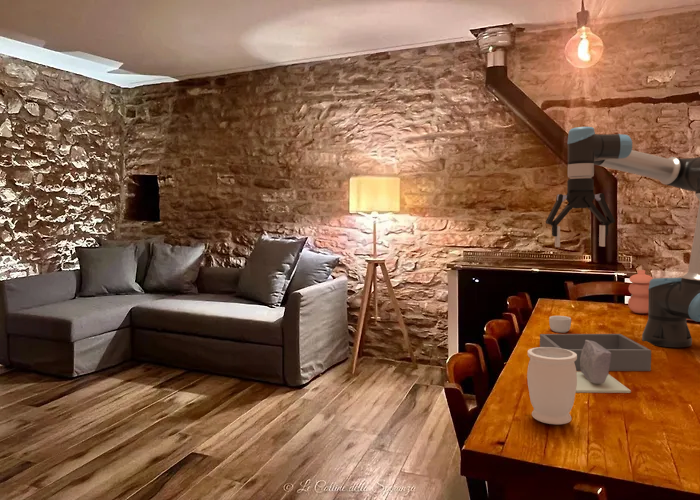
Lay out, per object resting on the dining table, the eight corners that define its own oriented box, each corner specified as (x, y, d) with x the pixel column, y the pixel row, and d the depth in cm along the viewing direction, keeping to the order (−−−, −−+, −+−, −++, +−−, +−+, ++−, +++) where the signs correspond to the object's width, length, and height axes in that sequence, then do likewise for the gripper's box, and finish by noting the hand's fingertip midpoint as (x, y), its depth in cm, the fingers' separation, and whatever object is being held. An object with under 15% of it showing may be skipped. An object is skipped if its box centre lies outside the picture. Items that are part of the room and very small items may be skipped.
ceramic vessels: (719, 313, 235) (720, 270, 234) (725, 322, 217) (727, 275, 215) (628, 307, 252) (629, 267, 250) (627, 315, 233) (627, 272, 232)
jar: (519, 410, 127) (520, 347, 126) (562, 408, 128) (563, 345, 126) (539, 428, 116) (539, 359, 115) (585, 426, 117) (586, 357, 116)
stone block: (612, 388, 139) (612, 349, 139) (592, 387, 140) (593, 349, 139) (596, 374, 151) (597, 338, 150) (578, 373, 152) (579, 338, 151)
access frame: (620, 352, 175) (620, 333, 175) (650, 370, 155) (651, 350, 155) (539, 352, 177) (539, 334, 177) (559, 370, 157) (559, 350, 156)
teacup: (568, 335, 200) (568, 320, 200) (547, 332, 204) (547, 318, 204) (573, 329, 209) (574, 315, 208) (552, 327, 213) (553, 314, 212)
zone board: (605, 373, 153) (605, 371, 153) (630, 392, 137) (630, 390, 137) (547, 373, 154) (547, 371, 154) (565, 392, 138) (565, 390, 138)
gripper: (616, 178, 171) (615, 245, 172) (536, 179, 172) (535, 246, 174) (627, 176, 163) (626, 246, 165) (542, 178, 165) (542, 248, 167)
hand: (579, 246), depth 169 cm, fingers open, 13 cm apart
